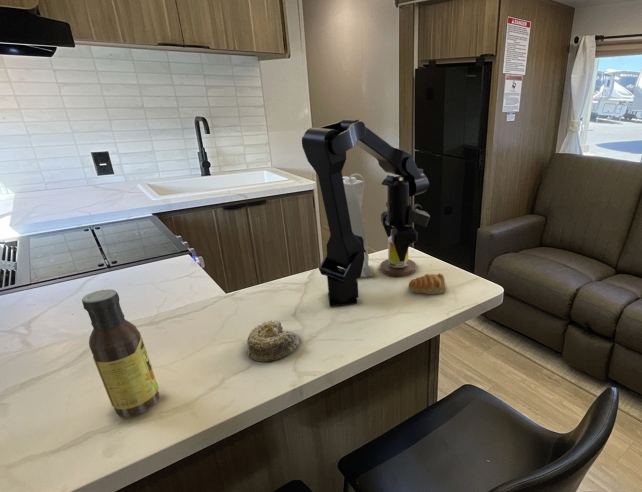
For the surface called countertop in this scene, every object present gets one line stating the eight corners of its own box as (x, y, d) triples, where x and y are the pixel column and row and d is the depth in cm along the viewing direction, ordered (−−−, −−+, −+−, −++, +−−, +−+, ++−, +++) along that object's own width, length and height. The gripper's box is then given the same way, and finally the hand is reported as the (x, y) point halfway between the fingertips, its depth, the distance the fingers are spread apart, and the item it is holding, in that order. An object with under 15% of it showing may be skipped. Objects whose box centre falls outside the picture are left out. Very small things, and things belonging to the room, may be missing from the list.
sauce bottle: (169, 399, 65) (137, 292, 57) (128, 425, 60) (86, 311, 52) (146, 386, 68) (112, 281, 60) (105, 409, 63) (62, 299, 55)
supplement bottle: (410, 267, 111) (411, 232, 107) (391, 270, 110) (391, 234, 105) (404, 259, 116) (404, 226, 112) (386, 262, 114) (385, 228, 110)
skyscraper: (373, 279, 107) (370, 174, 95) (342, 282, 105) (335, 175, 93) (368, 266, 114) (364, 167, 103) (339, 269, 112) (332, 168, 101)
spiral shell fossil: (263, 372, 73) (256, 348, 70) (238, 349, 79) (230, 327, 76) (309, 345, 79) (304, 322, 77) (283, 326, 85) (277, 305, 83)
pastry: (411, 297, 98) (411, 283, 97) (406, 284, 104) (406, 271, 103) (448, 293, 100) (448, 279, 99) (440, 281, 106) (441, 268, 105)
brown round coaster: (384, 278, 108) (384, 274, 107) (377, 263, 116) (377, 259, 116) (420, 274, 110) (420, 270, 110) (410, 260, 119) (411, 256, 119)
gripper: (438, 208, 99) (436, 265, 106) (418, 190, 116) (417, 240, 122) (394, 211, 96) (394, 269, 103) (380, 192, 113) (381, 243, 119)
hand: (398, 254), depth 112 cm, fingers open, 9 cm apart
